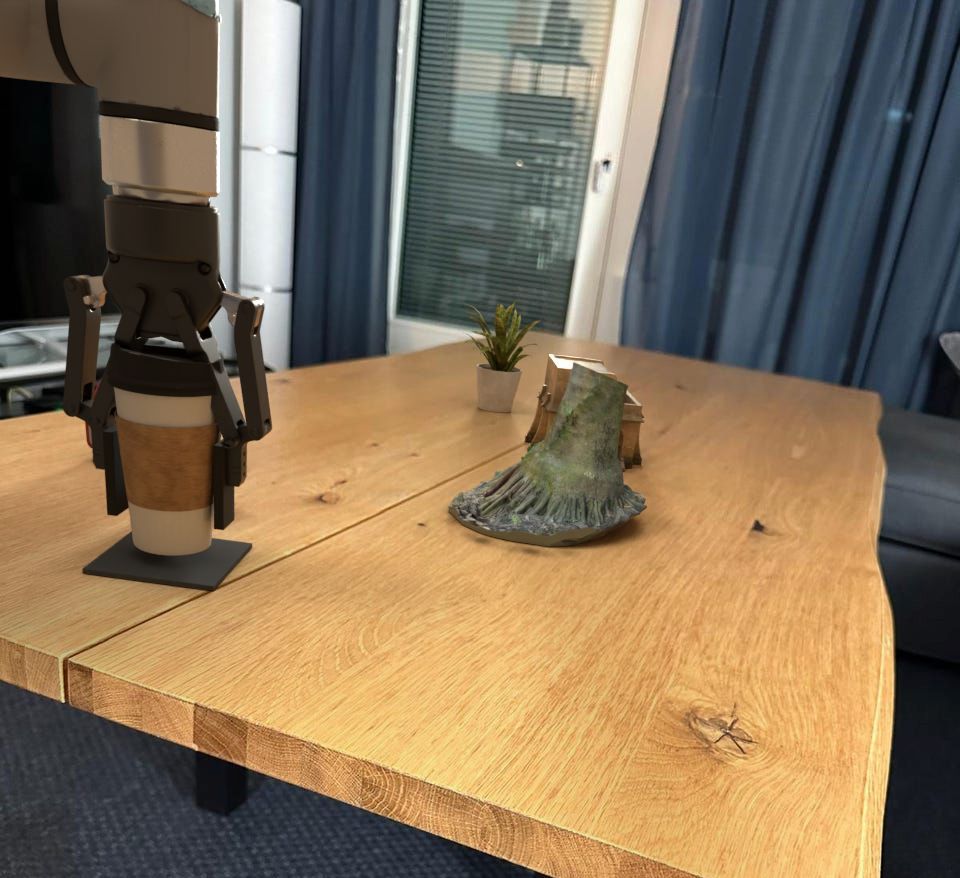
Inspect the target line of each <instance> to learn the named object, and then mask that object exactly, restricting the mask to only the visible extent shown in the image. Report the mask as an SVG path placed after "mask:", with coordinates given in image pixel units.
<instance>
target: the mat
mask: <svg viewBox="0 0 960 878" xmlns="http://www.w3.org/2000/svg"><path fill="white" fill-rule="evenodd" d="M252 548H253V543H252V542H246V541H245V542H244V541H239V540H238V541H237V540H231V539H222V538H216V537H212V540H211V545H210V546H209V548H207V549H206V550H204V551H201V552H198V553H195V554H189V555H178V556H169V555H158V554H152V553H148V552H145V551H142V550H140V549H138V548H137V547H136V546H135V545H134V542H133V537H132V530H131V531H130V532H128V533H127V534H125V535H124V536H123V537H122V538H121V539H119V540H118V541H117V542H115V543H114V544H112V545H111V546H110V547H109V548H107V549H106V550H105V551H104V552H102V553H101V554H99V555H98V556H97V557H95V559H93V560H92V561H91V562H89V563H88V564H86V566H83V568H82V569H81V570H82V574H86V575H93V576H100V577H107V578H115V579H122V580H130V581H136V582H137V581H138V582H143V583H152V584H158V585H159V584H160V585H167V586H174V587H182V588H190V589H196V590H204V591H211V592H214V591H215V590H216V589H217V588H218V587H219V585H221V584H222V583H223V581H224V580H225V579H226V578H227V577H228V576H229V574H230V573H231V572H232V571H233V570H234V569H235V567H236V566H237V565H238V564H239V563H240V562H241V561H242V560H243V559H244V557H246V555H247V554H248V553H249V552H250V551H251V549H252Z"/></svg>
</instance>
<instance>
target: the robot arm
mask: <svg viewBox="0 0 960 878" xmlns="http://www.w3.org/2000/svg"><path fill="white" fill-rule="evenodd" d="M221 24H222V15H221V13H220V1H219V0H0V77H1V78H11V79H17V80H26V81H36V82H48V83H58V84H65V85H66V84H68V85H76V86H78V87H83V88H91V89H92V88H96V89H97V97H98V98H97V99H98V115H100V116H99V123H100V126H99V127H100V149H101V150H100V153H101V154H100V155H101V179H102V181H103V182H104V183H105V184H106V185H108V186H112V194H107V195H106V198H104V199H103V205H104V206H103V207H104V210H103V211H104V228H105V245H106V246H105V247H106V252H107V258H108V259H107V263H106V267H105V269H104V271H103V273H102V275H97V276H96V275H95V276H91V275H88V274H80V275H74V276H73V275H72V276H68V277H66V278H65V279H64V281H63V285H62V287H63V291H64V294H65V298H66V302H67V306H68V310H69V318H68V332H67V345H66V359H65V371H64V372H65V373H64V374H65V375H64V383H63V384H64V386H63V396H62V398H63V399H62V410H63V413H64V414H65V415H66V416H68V417H70V418H78V419H80V420H81V421H84V423H85V422H86V423H87V424H88V425H89V426H90V429H91V437H92V448H91V452H92V453H91V454H92V463H93V465H94V467H95V469H97V470H104V481H105V499H106V514H107V516H112V517H118V516H119V515H121V514H122V513H124V512H125V511H126V510H129V505H128V499H127V494H126V488H125V481H124V474H123V468H122V461H121V454H120V448H119V441H118V434H117V428H116V425H115V423H114V421H115V414H114V413H115V411H116V410H117V408H116V400H115V392H114V387H113V386H111V385H110V384H108V377H109V376H108V374H107V370H108V369H109V361H110V356H109V357H108V360H107V362H106V365H105V368H104V371H103V373H102V375H101V378H102V379H101V378H100V380H101V382H100V384H99V387H98V390H97V393H96V395H95V398H94V392H95V389H96V381H97V380H96V377H97V368H98V357H99V345H100V335H101V333H100V332H101V323H102V308H101V307H103V306H104V304H105V303H106V294H108V296H109V298H110V299H111V300H112V302H113V304H114V305H115V306H116V308H117V310H118V311H119V313H120V315H121V316H120V319H119V322H118V324H117V328H116V330H115V333H114V336H113V340H114V342H115V343H114V342H113V343H114V344H119V345H120V347H121V348H124V349H127V350H131V351H135V352H139V353H141V352H142V349H143V347H144V345H145V344H148V341H149V339H155V338H156V339H157V338H162V339H165V340H167V341H171V342H173V343H174V342H175V343H182V345H183V346H182V347H184V348H185V351H186V353H187V354H188V355H189V356H190V357H191V359H192V361H193V362H207V363H210V369H211V375H212V381H213V382H214V383H215V385H216V388H215V390H216V393H217V395H212V396H211V409H212V412H213V414H214V417H215V419H216V422H217V424H218V427H219V429H220V432H221V441H219V442H218V443H216V444H215V445H214V446H213V476H214V513H213V530H219V531H225V530H226V529H227V528H228V526H230V525H231V524H232V523H233V522H234V521H235V488H239V487H241V486H242V485H243V483H245V481H246V479H247V477H248V464H247V463H248V445H249V443H251V442H258V441H261V440H262V439H264V437H266V436H267V435H268V434H270V433H271V432H272V431H273V421H272V413H271V405H270V399H269V397H270V396H269V391H268V384H267V383H268V382H267V375H266V368H265V361H264V353H263V345H262V337H261V328H262V323H263V317H264V312H265V308H266V307H265V302H264V300H263V299H262V298H261V297H259V296H252V297H247V296H244V295H242V294H239V293H236V292H233V291H229V290H227V286H226V284H225V282H224V280H223V277H222V273H221V212H219V211H218V208H217V206H213V205H211V198H217V197H218V196H219V195H220V172H221V171H220V158H221V157H220V155H221V154H220V150H221V148H220V147H221V146H220V143H221V142H220V138H221V137H220V134H221V133H220V121H219V120H220V118H219V117H220V111H219V110H220V42H221V41H220V33H221ZM222 308H223V309H224V310H225V311H226V314H227V321H228V323H229V324H230V325H231V326H233V327H234V328H233V340H234V348H235V349H234V350H235V357H236V364H237V369H238V377H239V383H240V384H239V385H240V391H241V398H242V405H243V411H244V414H243V412H242V409H241V407H240V404H239V401H238V398H237V396H236V394H235V391H234V388H233V386H232V383H231V381H230V378H229V375H228V372H227V370H226V368H225V364H224V365H223V366H224V371H223V373H222V374H220V373H219V372H218V371H217V370H216V369H215V368H214V366H213V365H212V362H214V361H216V360H219V359H221V357H220V356H221V354H220V352H219V349H218V346H219V345H218V340H217V338H216V334H215V332H214V328H213V327H212V324H211V322H212V321H213V319H214V318H215V317H216V315H217V314H218V313H219V312H220V310H221V309H222ZM116 348H118V347H116Z"/></svg>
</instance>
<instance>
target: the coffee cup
mask: <svg viewBox="0 0 960 878" xmlns="http://www.w3.org/2000/svg"><path fill="white" fill-rule="evenodd" d="M114 343H115V341H114V342H112V343H111V344H110V349H109V357H110V361H109V369H108V370H107V374H108V376H109V377H108V384H110V385H111V386H113V387H114V392H115V400H116V408H117V410H116V411H115V413H114V414H115V421H116V428H117V434H118V441H119V448H120V454H121V461H122V468H123V474H124V481H125V488H126V494H127V499H128V505H129V508H128V512H129V521H130V529H131V531H132V537H133V542H134V545H135V546H136V547H137V548H138V549H140V550H142V551H145V552H148V553H152V554H158V555H169V556H178V555H189V554H195V553H198V552H201V551H204V550H206V549H207V548H209V546H210V545H211V540H212V538H213V529H214V476H213V446H214V445H215V444H216V443H218V442H219V441H221V440H222V434H221V432H220V429H219V427H218V424H217V422H216V419H215V417H214V414H213V412H212V409H211V396H212V395H217V393H216V390H215V388H216V385H215V383H214V382H213V381H212V375H211V369H210V363H207V362H193V361H192V359H191V357H190V356H189V355H188V354H187V353H186V351H185V348H184V346H176V345H175V346H174V345H173V346H172V345H164V344H152V343H151V344H150V343H146V344H145V345H144V347H143V349H142V352H141V353H139V352H135V351H131V350H127V349H124V348H121V347H120V345H119V344H114ZM116 347H118V348H116ZM220 357H221V359H219V360H216V361H214V362H212V365H213V366H214V368H215V369H216V370H217V371H218V372H219V373H220V374H222V373H223V371H224V367H225V363H224V358H223V357H222V355H220ZM223 365H224V366H223Z"/></svg>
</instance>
